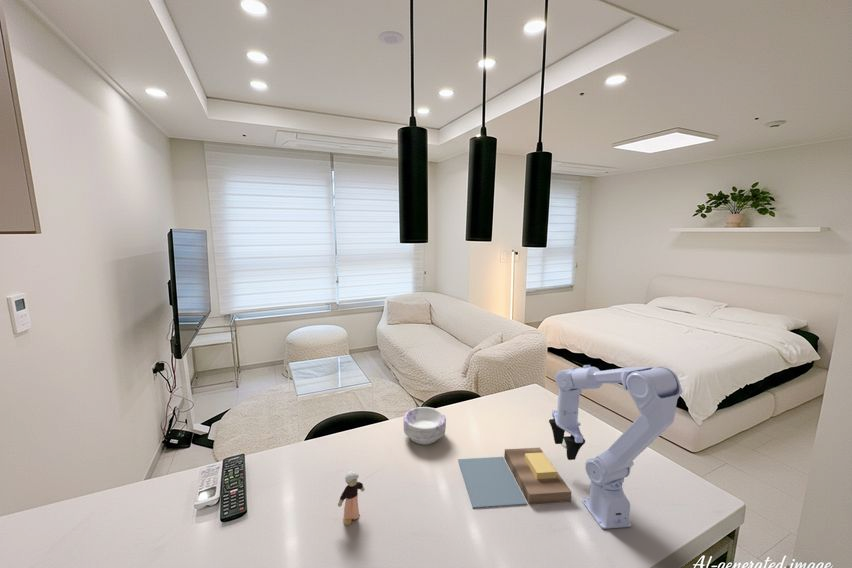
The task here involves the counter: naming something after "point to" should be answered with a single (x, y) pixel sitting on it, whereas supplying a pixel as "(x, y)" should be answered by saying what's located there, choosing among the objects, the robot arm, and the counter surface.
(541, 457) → the yellow flat block
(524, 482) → the brown wooden board
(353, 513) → the grandmother figurine
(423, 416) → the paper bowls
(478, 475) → the mat
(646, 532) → the counter surface
